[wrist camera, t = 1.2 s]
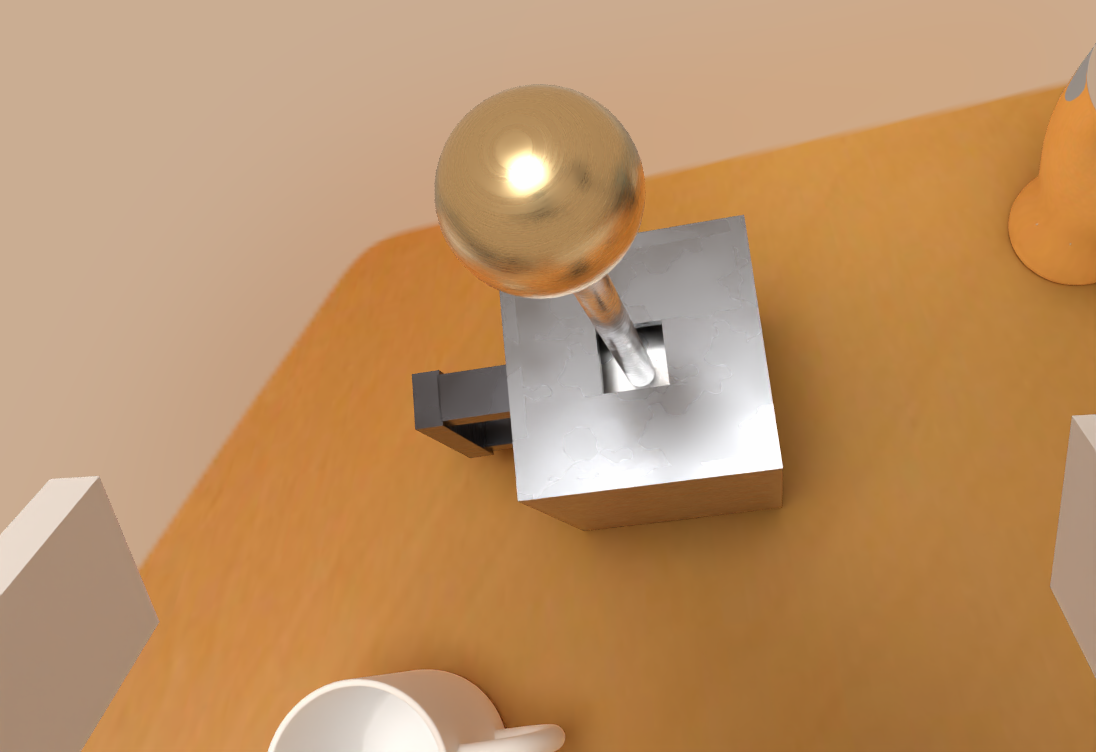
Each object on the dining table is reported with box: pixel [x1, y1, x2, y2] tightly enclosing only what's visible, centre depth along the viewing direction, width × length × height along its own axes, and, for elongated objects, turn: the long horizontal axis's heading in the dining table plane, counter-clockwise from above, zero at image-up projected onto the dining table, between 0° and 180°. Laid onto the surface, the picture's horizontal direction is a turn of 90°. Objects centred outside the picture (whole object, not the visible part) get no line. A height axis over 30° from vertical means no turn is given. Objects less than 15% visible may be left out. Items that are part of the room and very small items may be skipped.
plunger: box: [435, 84, 670, 394], centre depth 32 cm, size 8×8×22 cm
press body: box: [412, 215, 783, 531], centre depth 47 cm, size 15×10×14 cm
